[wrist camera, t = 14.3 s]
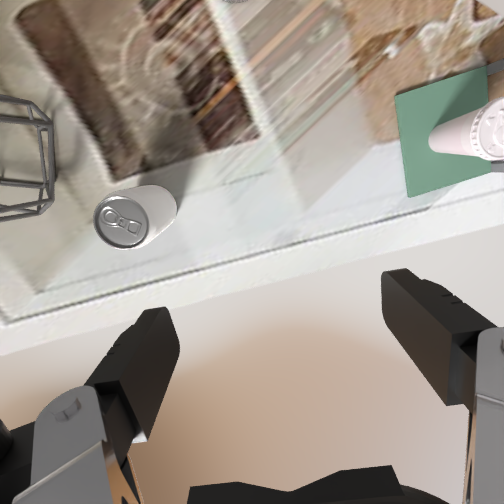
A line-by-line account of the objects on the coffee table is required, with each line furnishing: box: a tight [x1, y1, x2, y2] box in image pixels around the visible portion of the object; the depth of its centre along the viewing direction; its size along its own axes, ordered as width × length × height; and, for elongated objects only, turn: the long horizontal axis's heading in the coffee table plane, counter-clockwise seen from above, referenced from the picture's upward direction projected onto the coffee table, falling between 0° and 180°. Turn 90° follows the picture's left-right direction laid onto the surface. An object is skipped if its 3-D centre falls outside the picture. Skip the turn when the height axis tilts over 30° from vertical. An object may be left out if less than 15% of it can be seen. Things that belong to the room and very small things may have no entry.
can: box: [93, 185, 177, 250], centre depth 34 cm, size 6×6×12 cm
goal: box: [394, 59, 504, 198], centre depth 32 cm, size 14×13×14 cm
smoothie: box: [428, 97, 504, 161], centre depth 31 cm, size 6×6×14 cm
